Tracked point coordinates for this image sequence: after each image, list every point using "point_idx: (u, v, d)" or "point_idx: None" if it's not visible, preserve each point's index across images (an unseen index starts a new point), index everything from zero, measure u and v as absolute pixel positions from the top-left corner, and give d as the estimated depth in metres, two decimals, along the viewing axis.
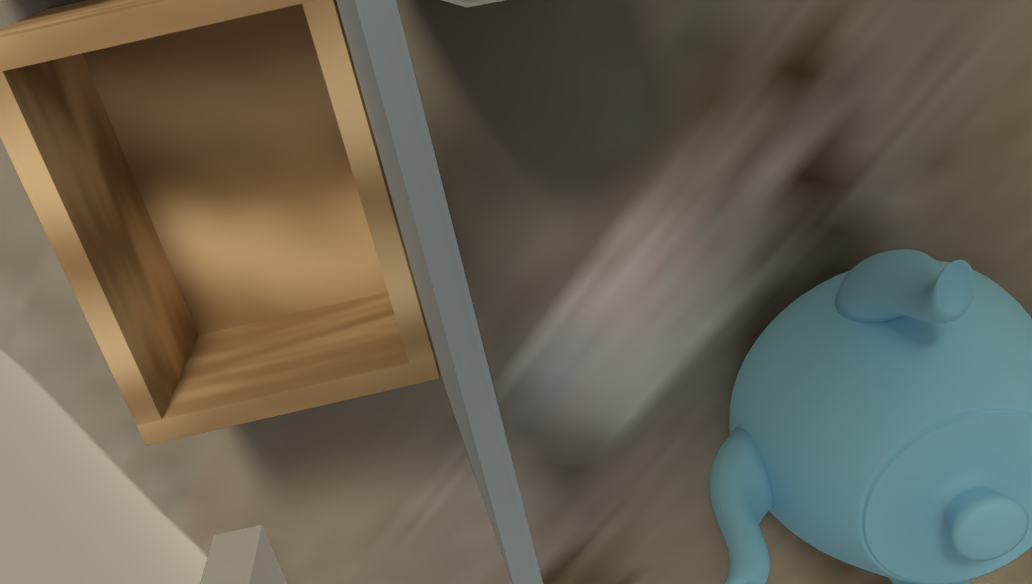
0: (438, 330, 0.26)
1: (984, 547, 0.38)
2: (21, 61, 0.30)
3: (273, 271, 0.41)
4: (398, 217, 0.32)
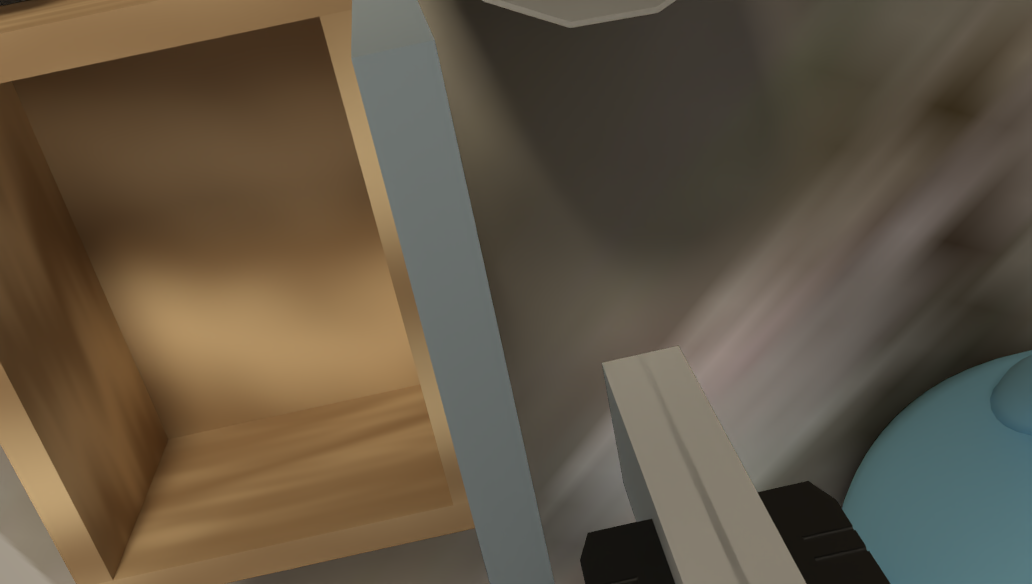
0: None
1: None
2: None
3: (267, 360, 0.32)
4: None
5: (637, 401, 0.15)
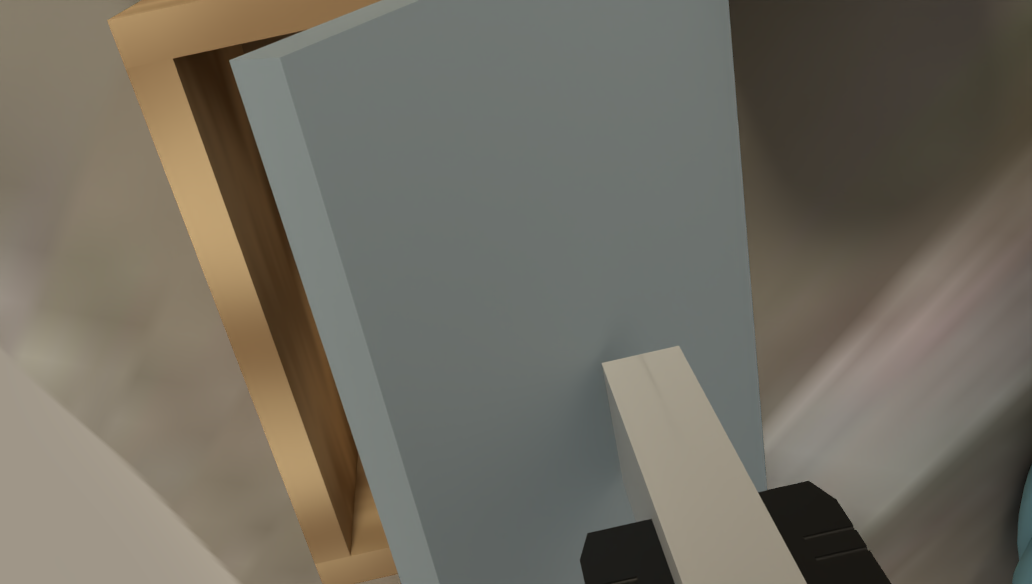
0: None
1: None
2: (202, 43, 0.19)
3: None
4: None
5: (637, 401, 0.15)
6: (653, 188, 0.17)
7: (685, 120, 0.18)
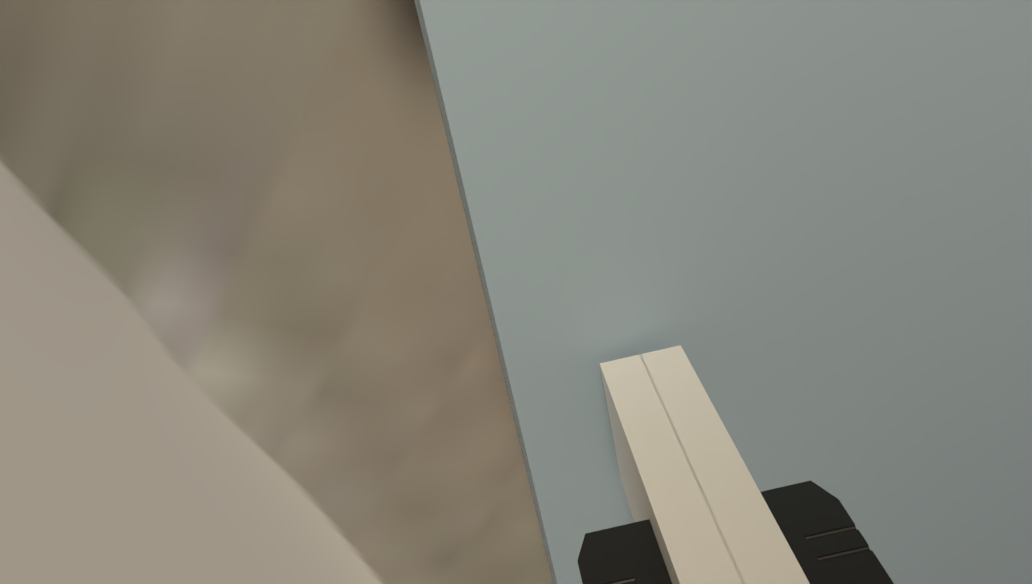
0: None
1: None
2: None
3: None
4: None
5: (635, 401, 0.15)
6: (919, 152, 0.16)
7: (1008, 87, 0.16)
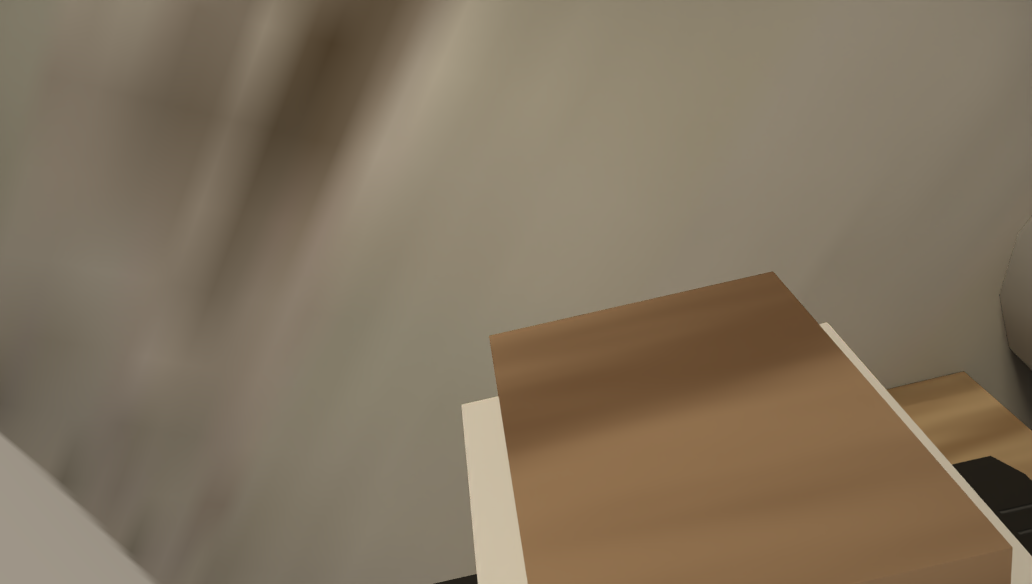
0: None
1: None
2: None
3: None
4: None
5: (486, 447, 0.14)
6: None
7: None
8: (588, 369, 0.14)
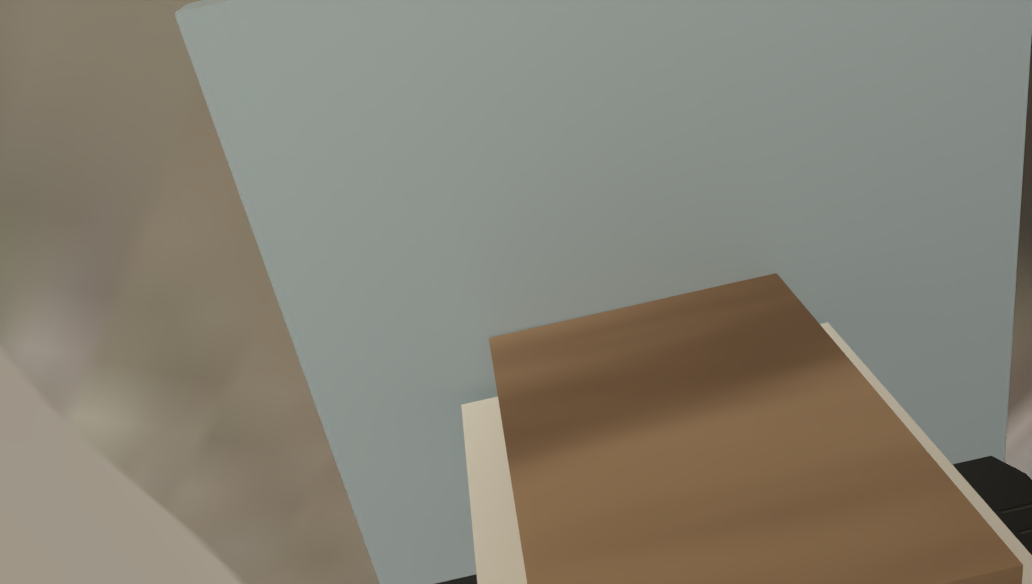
0: None
1: None
2: None
3: None
4: None
5: (485, 447, 0.14)
6: (756, 208, 0.15)
7: (857, 142, 0.15)
8: (591, 374, 0.14)
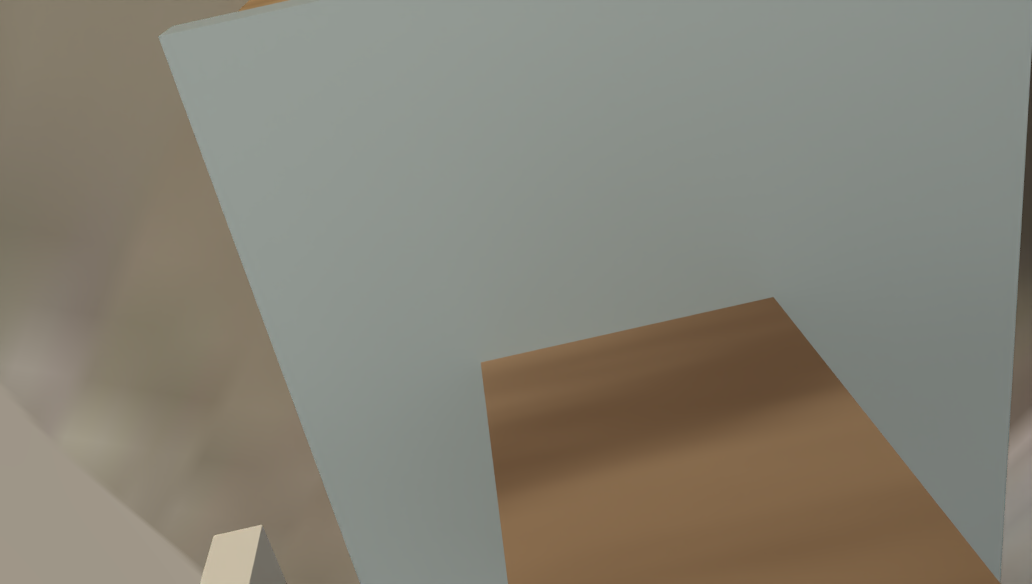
0: None
1: None
2: None
3: None
4: None
5: None
6: (753, 230, 0.15)
7: (855, 165, 0.14)
8: (583, 401, 0.14)
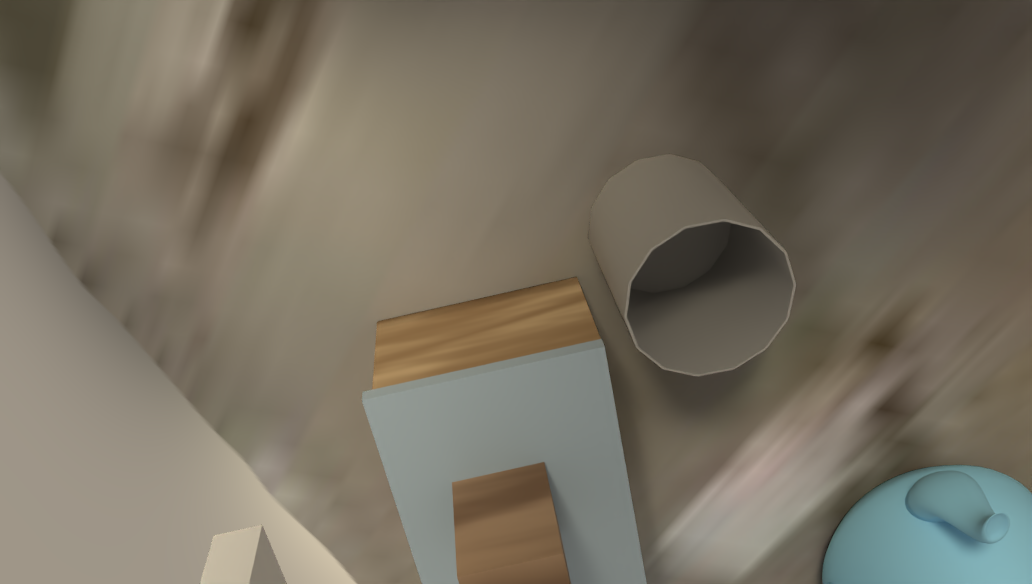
0: None
1: None
2: None
3: None
4: None
5: None
6: (535, 443, 0.48)
7: (564, 425, 0.47)
8: (480, 497, 0.47)
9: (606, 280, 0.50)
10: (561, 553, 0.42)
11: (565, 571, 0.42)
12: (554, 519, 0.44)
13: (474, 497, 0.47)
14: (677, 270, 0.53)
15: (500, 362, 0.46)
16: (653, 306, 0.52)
